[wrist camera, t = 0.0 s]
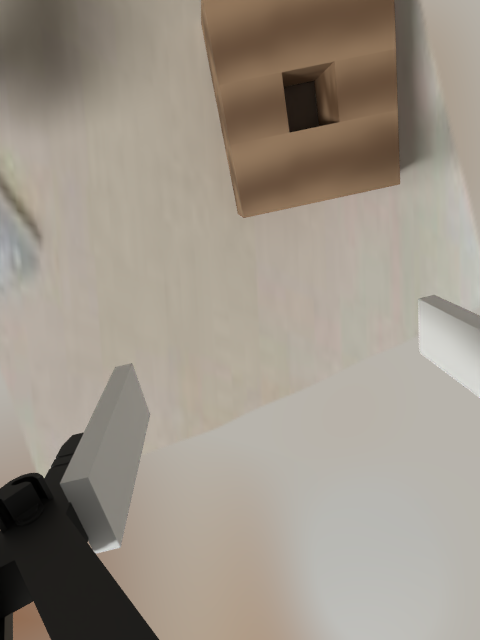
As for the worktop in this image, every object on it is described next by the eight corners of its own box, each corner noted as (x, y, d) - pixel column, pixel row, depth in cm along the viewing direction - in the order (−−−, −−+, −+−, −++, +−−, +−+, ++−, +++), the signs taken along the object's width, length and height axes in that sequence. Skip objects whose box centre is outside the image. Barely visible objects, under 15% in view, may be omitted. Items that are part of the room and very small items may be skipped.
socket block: (201, 23, 34) (201, -10, 29) (361, -9, 35) (392, -47, 29) (238, 213, 41) (244, 217, 35) (373, 184, 41) (400, 184, 36)
